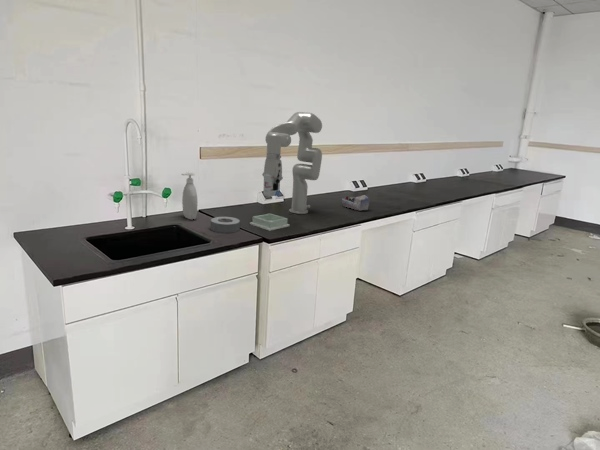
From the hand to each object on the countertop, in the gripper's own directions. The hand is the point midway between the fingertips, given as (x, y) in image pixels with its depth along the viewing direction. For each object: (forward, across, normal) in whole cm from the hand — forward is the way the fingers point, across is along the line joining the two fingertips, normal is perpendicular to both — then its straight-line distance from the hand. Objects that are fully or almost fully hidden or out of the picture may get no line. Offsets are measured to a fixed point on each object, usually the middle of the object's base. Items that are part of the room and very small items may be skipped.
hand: (271, 189), depth 228 cm
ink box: (+4, 0, 0) cm, 4 cm away
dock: (+21, 0, 0) cm, 21 cm away
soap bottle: (+21, +38, +28) cm, 52 cm away
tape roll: (+21, +9, +25) cm, 34 cm away
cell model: (+22, -4, -82) cm, 85 cm away
